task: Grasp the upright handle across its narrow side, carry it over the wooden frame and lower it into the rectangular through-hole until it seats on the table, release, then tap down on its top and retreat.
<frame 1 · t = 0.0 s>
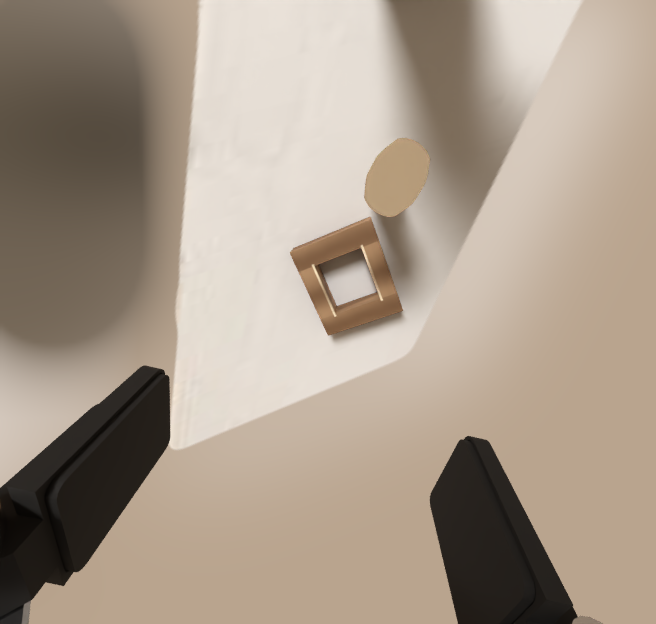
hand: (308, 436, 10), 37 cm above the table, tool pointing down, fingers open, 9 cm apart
handle: (381, 178, 40), on the table
wooden frame: (348, 276, 46), on the table
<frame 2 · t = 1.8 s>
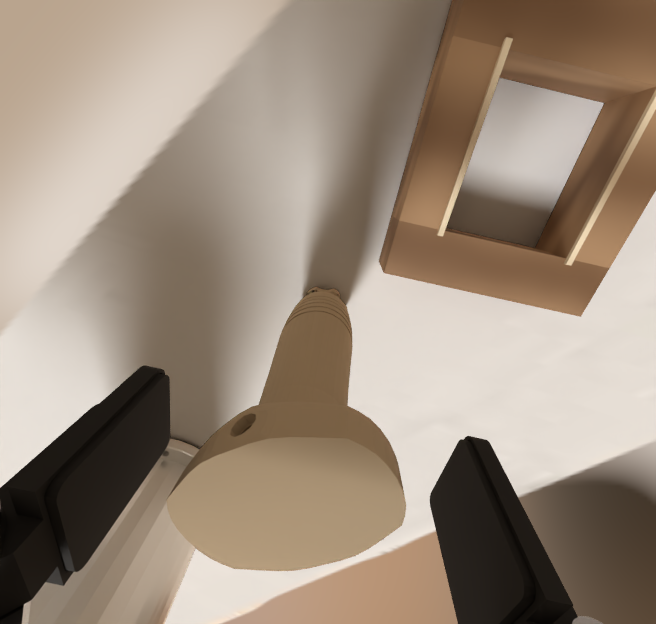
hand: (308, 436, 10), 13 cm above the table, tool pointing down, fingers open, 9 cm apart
handle: (323, 304, 22), on the table
wooden frame: (510, 168, 18), on the table
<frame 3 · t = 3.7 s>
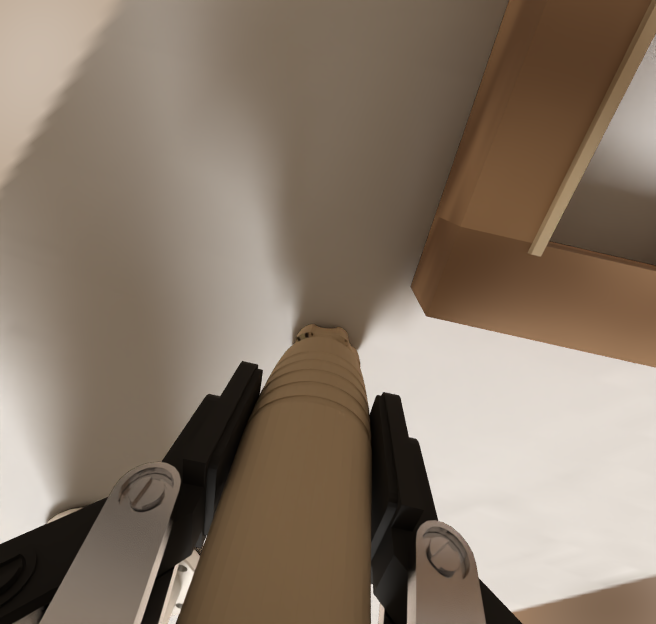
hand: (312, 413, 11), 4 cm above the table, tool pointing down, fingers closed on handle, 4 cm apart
handle: (323, 347, 15), on the table, touching gripper
wooden frame: (651, 132, 10), on the table
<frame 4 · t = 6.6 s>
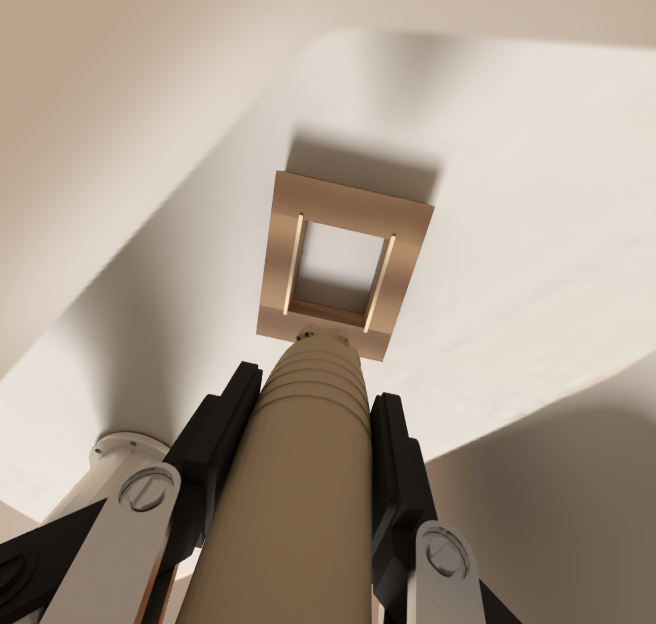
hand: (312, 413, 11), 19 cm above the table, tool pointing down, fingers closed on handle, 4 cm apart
handle: (324, 347, 15), point 14 cm above the table, touching gripper
wooden frame: (337, 267, 28), on the table
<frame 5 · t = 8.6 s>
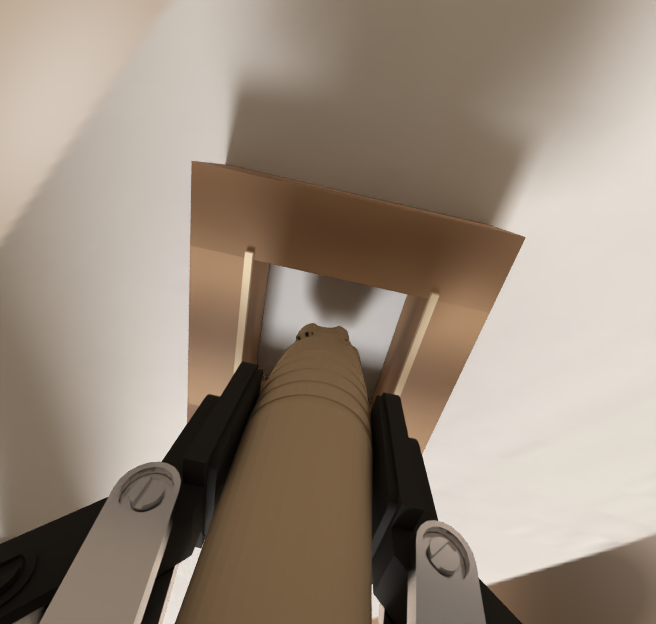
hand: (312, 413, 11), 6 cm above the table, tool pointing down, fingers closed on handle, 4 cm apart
handle: (324, 347, 15), point 2 cm above the table, touching gripper
wooden frame: (326, 331, 16), on the table
when the fingers open (5 cm above the table, at t = 9.6 s): handle stays where it is, resting in wooden frame.
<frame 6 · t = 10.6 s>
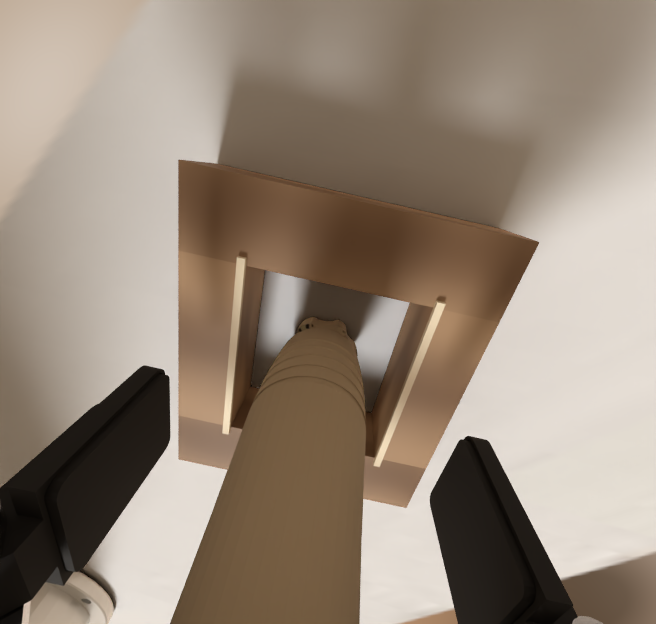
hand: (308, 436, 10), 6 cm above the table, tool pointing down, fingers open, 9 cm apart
handle: (323, 339, 16), resting in wooden frame
wooden frame: (325, 339, 15), on the table
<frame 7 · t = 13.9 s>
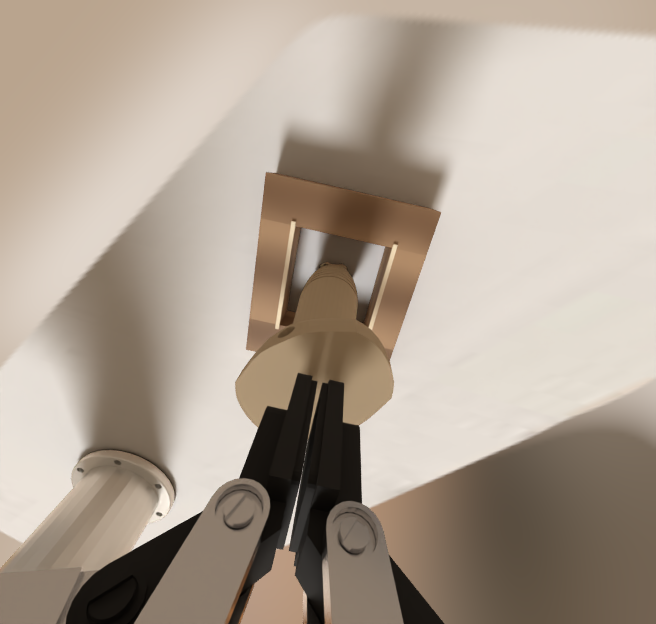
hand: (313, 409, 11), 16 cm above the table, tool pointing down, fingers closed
handle: (333, 277, 26), resting in wooden frame
wooden frame: (334, 277, 26), on the table
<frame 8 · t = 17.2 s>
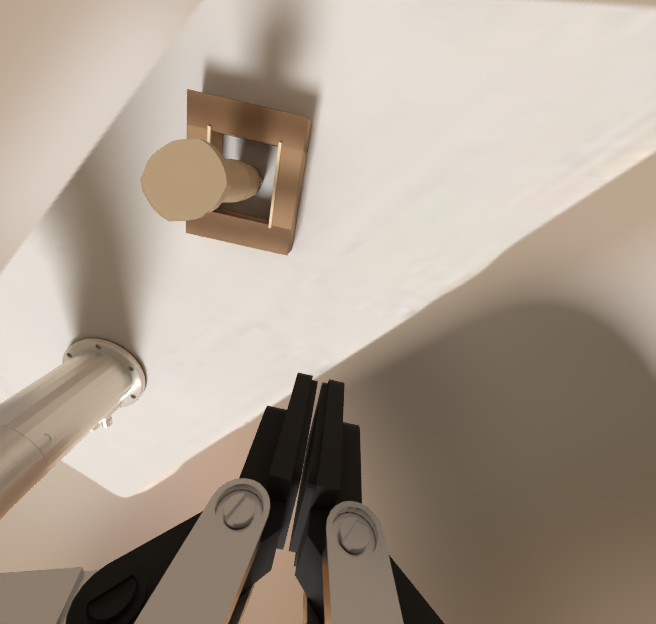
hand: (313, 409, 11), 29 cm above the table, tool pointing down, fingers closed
handle: (250, 180, 35), resting in wooden frame
wooden frame: (250, 179, 35), on the table
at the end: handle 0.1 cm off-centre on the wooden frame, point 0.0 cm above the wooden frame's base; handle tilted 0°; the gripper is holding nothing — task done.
